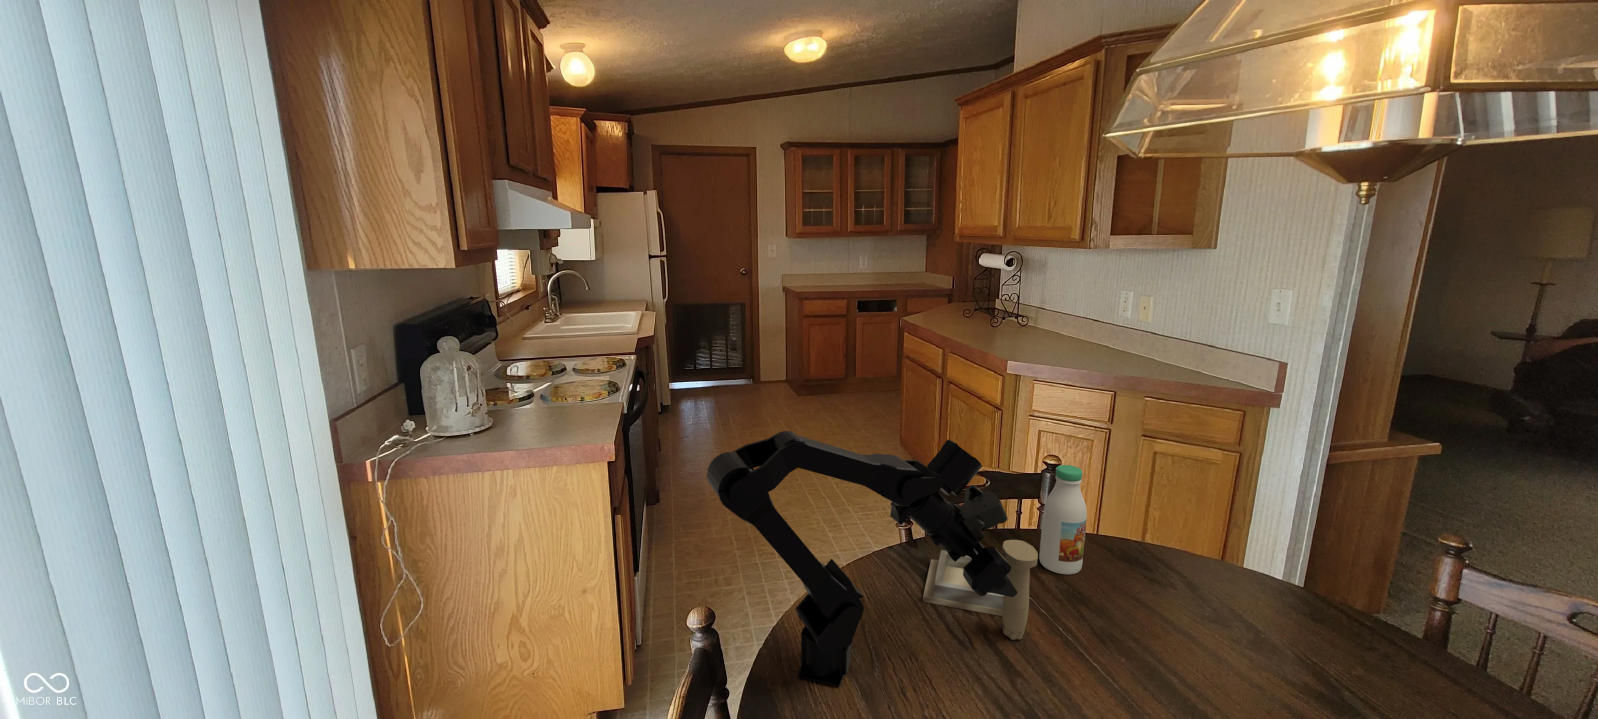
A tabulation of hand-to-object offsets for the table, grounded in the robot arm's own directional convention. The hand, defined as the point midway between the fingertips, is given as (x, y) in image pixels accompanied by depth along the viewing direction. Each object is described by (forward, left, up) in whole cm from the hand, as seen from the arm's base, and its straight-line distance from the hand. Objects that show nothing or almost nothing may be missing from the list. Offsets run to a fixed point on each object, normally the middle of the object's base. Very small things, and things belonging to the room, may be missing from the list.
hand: (1002, 577), depth 96 cm
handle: (+2, +1, -10) cm, 11 cm away
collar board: (-5, +12, -10) cm, 17 cm away
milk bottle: (+11, +26, -10) cm, 30 cm away
